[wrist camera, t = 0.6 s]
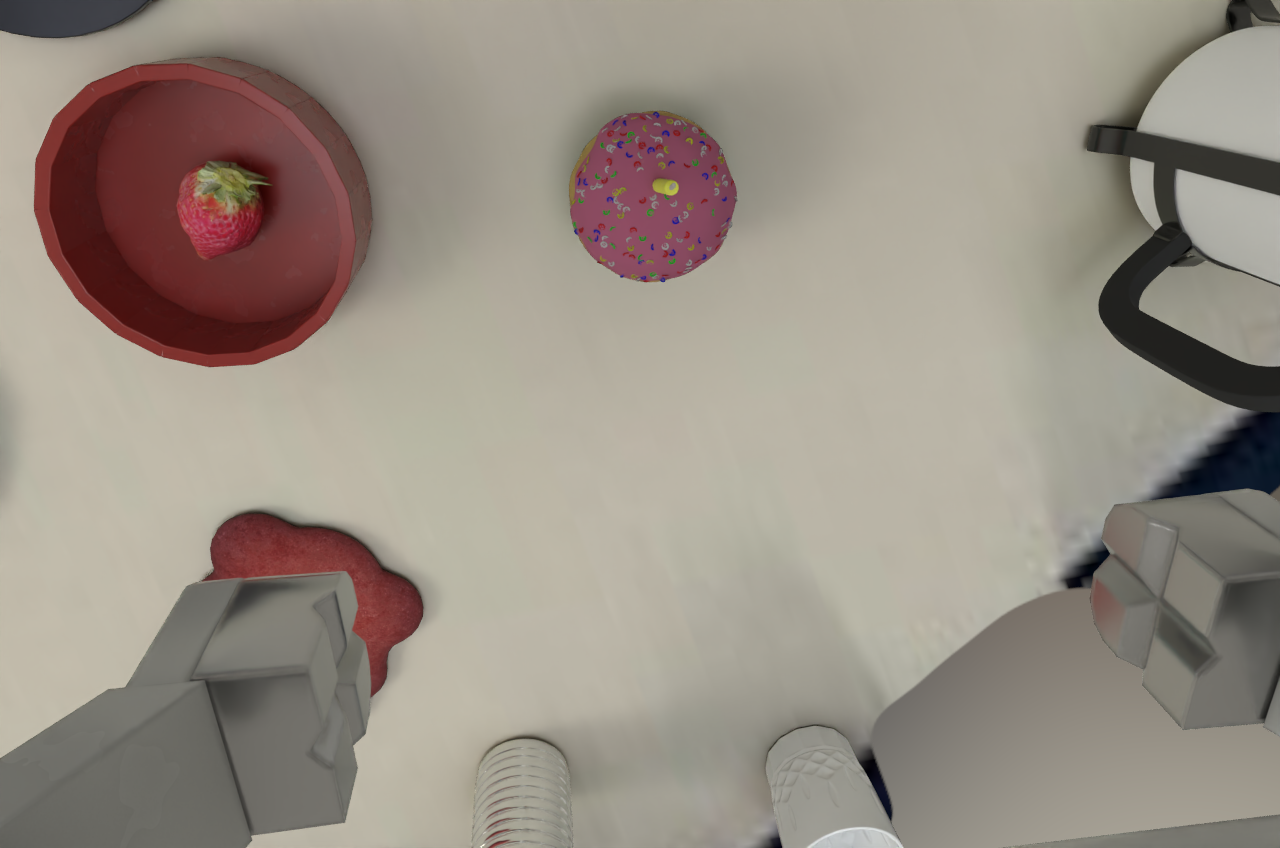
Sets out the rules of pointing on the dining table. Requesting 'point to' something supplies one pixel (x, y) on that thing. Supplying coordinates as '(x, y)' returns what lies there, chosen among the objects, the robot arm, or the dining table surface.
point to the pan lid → (65, 16)
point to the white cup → (825, 794)
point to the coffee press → (1205, 197)
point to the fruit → (221, 207)
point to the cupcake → (652, 196)
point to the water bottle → (523, 798)
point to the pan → (150, 225)
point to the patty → (289, 550)
